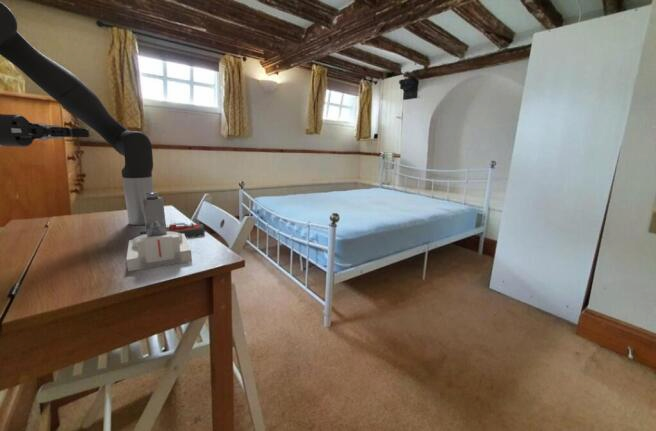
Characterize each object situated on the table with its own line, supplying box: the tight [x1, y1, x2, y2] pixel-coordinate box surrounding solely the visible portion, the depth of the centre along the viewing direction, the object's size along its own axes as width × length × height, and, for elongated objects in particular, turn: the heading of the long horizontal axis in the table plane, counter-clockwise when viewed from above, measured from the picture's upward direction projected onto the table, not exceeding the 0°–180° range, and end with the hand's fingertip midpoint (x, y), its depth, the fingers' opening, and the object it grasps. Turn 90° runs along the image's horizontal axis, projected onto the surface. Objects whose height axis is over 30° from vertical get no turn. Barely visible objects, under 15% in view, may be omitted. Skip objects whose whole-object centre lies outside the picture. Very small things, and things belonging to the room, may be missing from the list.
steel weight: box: [142, 191, 167, 237], centre depth 79 cm, size 5×5×13 cm
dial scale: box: [126, 232, 193, 272], centre depth 79 cm, size 17×14×8 cm
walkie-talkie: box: [139, 222, 207, 238], centre depth 97 cm, size 9×4×20 cm
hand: (80, 132), depth 75 cm, fingers open, 8 cm apart
